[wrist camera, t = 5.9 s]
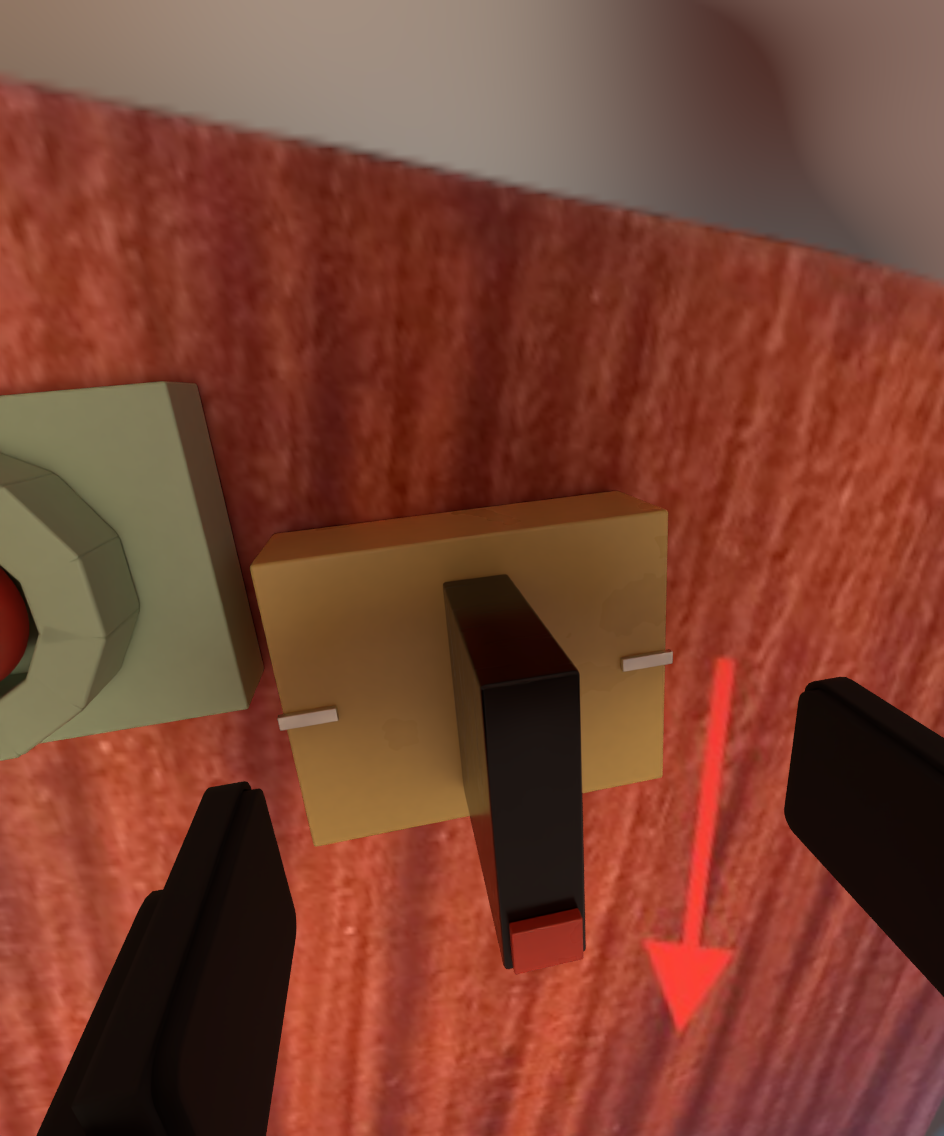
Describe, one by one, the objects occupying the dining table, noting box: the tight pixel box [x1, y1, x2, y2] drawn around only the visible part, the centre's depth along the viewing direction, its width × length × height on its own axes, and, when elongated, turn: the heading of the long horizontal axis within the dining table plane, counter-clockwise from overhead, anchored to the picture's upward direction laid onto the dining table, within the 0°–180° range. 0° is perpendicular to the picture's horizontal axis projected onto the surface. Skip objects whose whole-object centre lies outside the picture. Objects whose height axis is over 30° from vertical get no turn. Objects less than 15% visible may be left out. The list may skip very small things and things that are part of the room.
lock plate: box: [250, 491, 673, 846], centre depth 15 cm, size 10×8×3 cm
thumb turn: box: [443, 574, 586, 974], centre depth 12 cm, size 6×2×5 cm, turn 5°
